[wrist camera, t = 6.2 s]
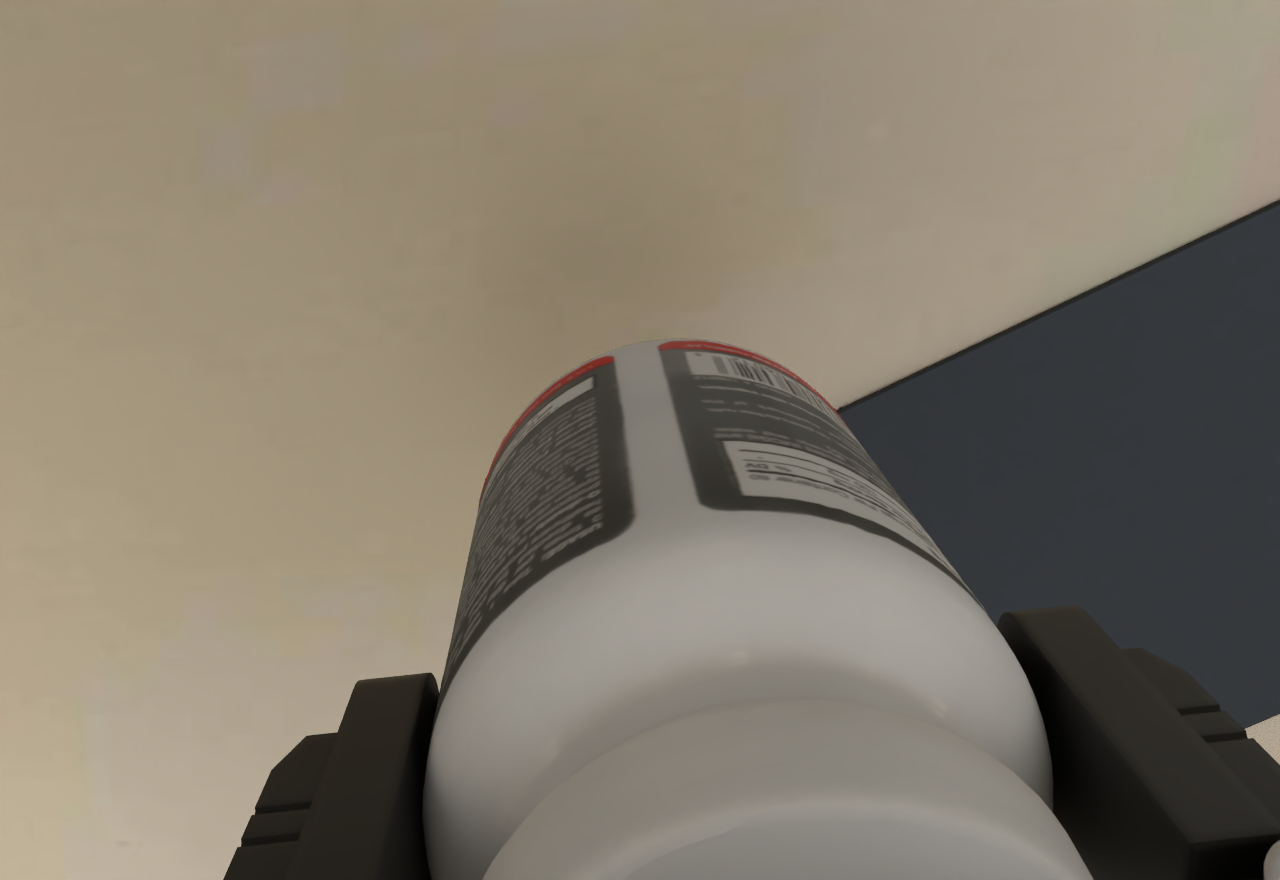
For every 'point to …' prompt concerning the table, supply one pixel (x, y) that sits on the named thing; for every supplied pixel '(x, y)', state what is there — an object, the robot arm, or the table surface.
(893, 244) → the table surface
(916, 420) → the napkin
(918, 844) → the pill bottle
